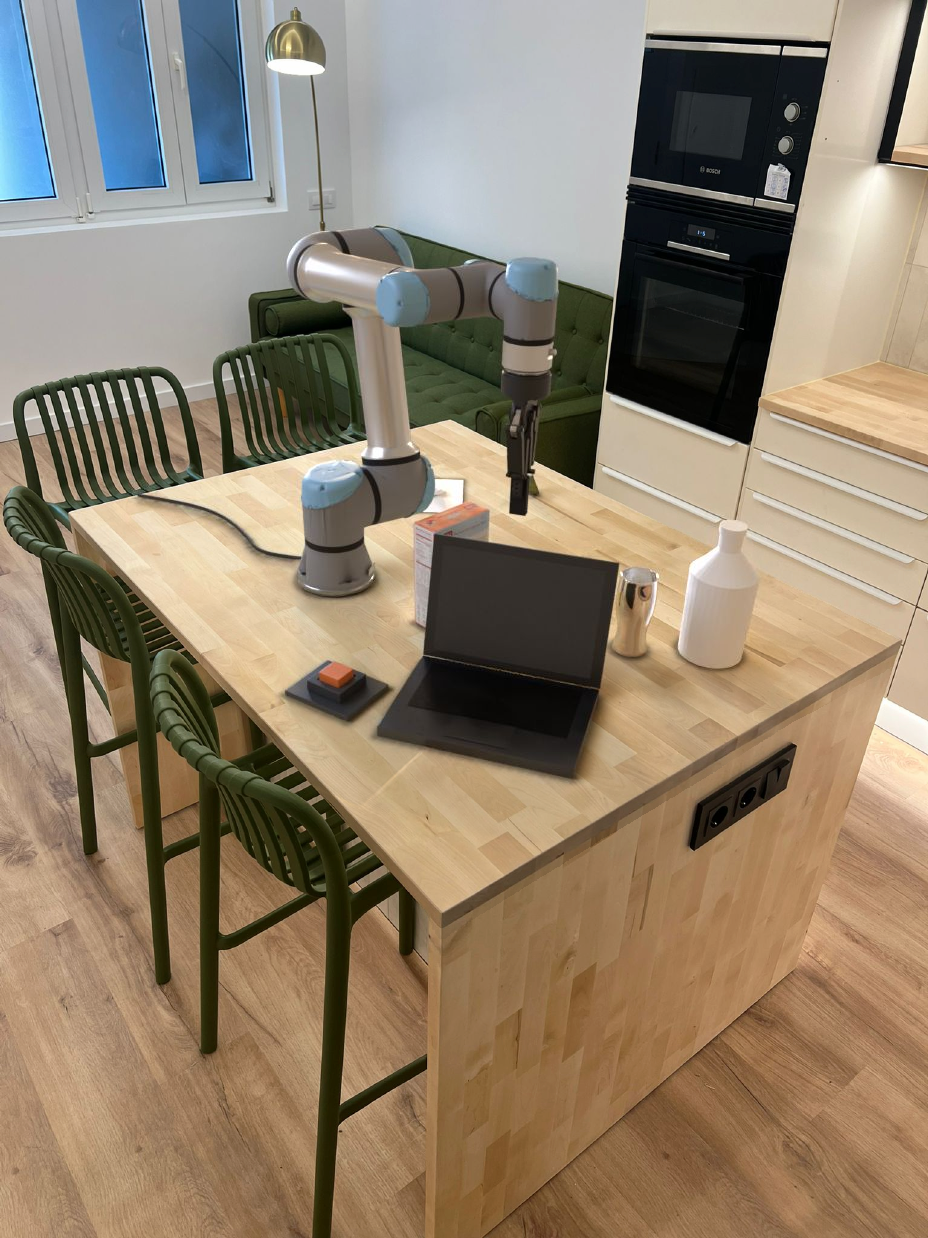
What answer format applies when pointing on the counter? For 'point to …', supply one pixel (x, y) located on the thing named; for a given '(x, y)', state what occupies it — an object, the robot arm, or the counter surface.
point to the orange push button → (337, 693)
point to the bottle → (719, 602)
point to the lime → (533, 486)
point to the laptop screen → (520, 609)
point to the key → (336, 674)
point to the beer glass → (634, 609)
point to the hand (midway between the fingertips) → (518, 512)
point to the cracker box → (453, 522)
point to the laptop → (492, 715)
